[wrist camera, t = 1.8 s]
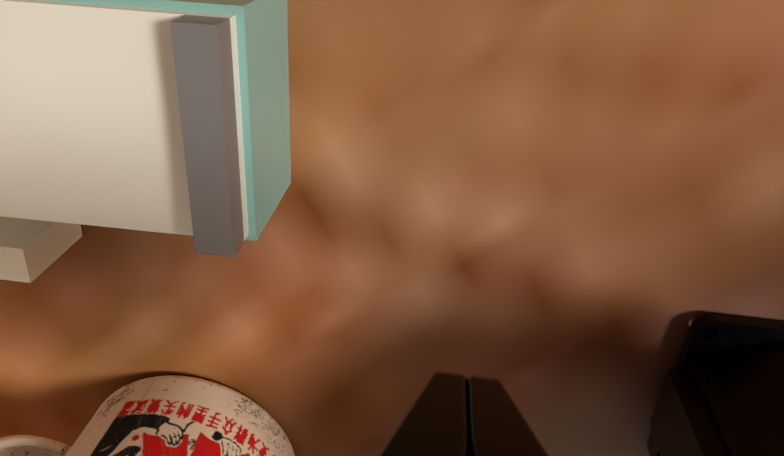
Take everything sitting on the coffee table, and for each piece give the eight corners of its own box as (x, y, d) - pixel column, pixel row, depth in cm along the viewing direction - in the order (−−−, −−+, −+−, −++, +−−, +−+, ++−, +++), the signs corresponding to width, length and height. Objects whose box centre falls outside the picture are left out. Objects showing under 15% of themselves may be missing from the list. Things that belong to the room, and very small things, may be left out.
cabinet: (288, -19, 18) (226, 16, 13) (292, 180, 21) (242, 264, 16) (12, -39, 18) (-141, -13, 14) (53, 157, 21) (-61, 233, 16)
